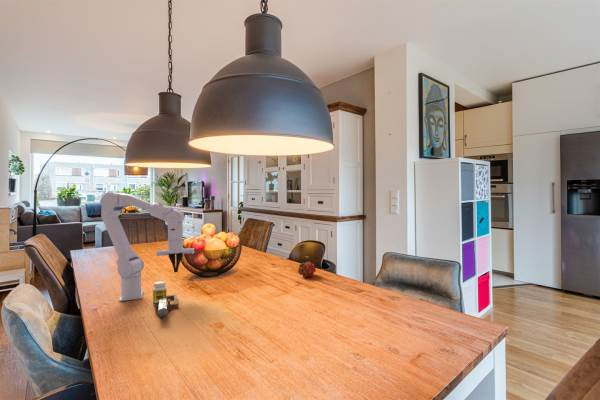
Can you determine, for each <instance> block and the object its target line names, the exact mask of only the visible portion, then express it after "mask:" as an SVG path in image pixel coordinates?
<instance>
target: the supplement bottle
mask: <svg viewBox="0 0 600 400" xmlns="http://www.w3.org/2000/svg"><path fill="white" fill-rule="evenodd" d="M166 296H167V286H166V281H163V280H160V281H155V282H154V283H153V288H152V305H153V306H155V302H156V301H158V306H159V299H164V298H166Z"/></svg>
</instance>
